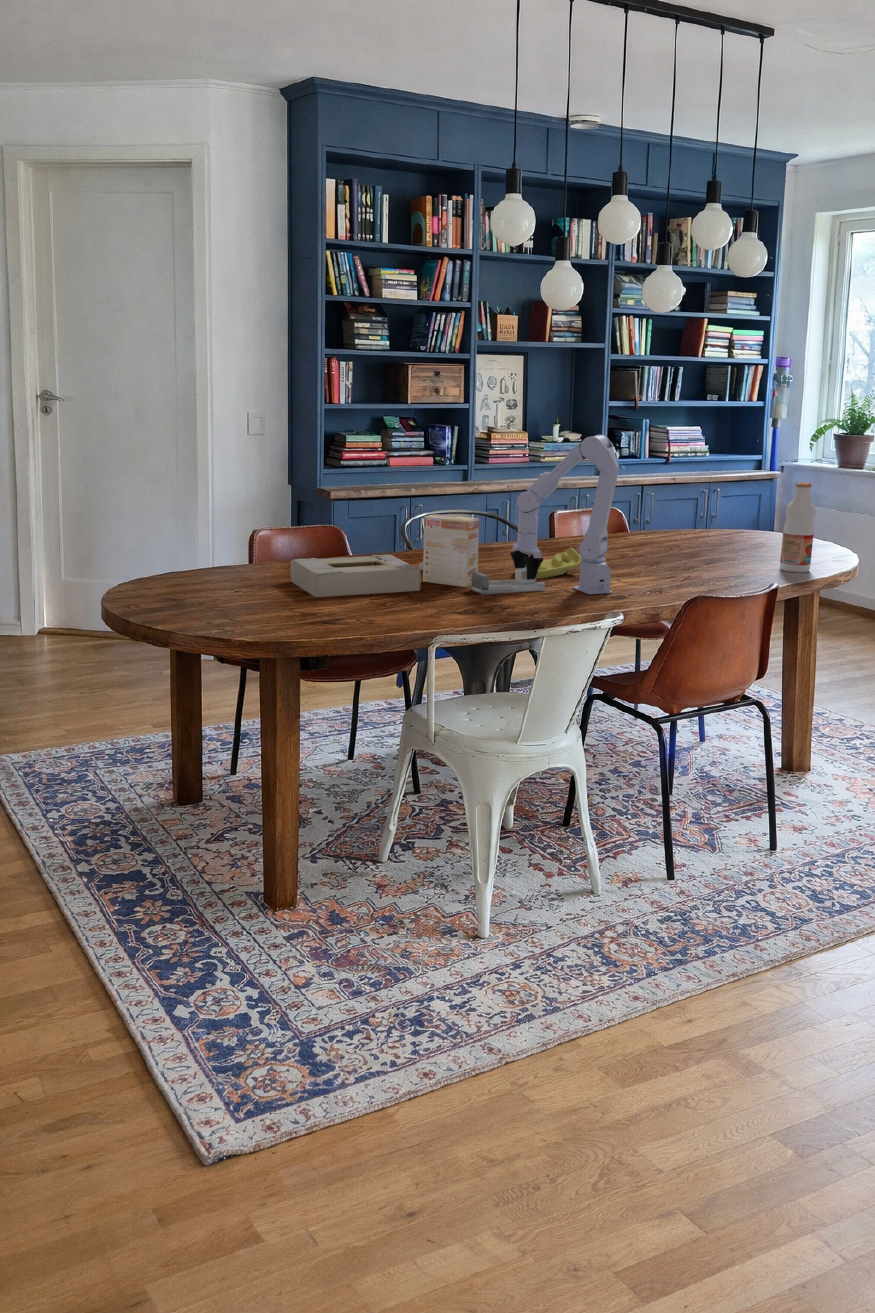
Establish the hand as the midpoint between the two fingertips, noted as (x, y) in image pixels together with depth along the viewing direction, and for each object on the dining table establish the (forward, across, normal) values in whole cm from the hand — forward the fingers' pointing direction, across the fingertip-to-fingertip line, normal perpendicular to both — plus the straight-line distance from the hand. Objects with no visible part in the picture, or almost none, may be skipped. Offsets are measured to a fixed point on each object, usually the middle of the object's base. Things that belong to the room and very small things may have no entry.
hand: (525, 578), depth 347 cm
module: (+2, 0, 0) cm, 2 cm away
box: (+3, -11, -49) cm, 50 cm away
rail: (+2, +7, -9) cm, 11 cm away
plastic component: (+2, -12, +14) cm, 19 cm away
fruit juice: (+2, +4, +95) cm, 95 cm away
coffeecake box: (+2, -8, -21) cm, 22 cm away
